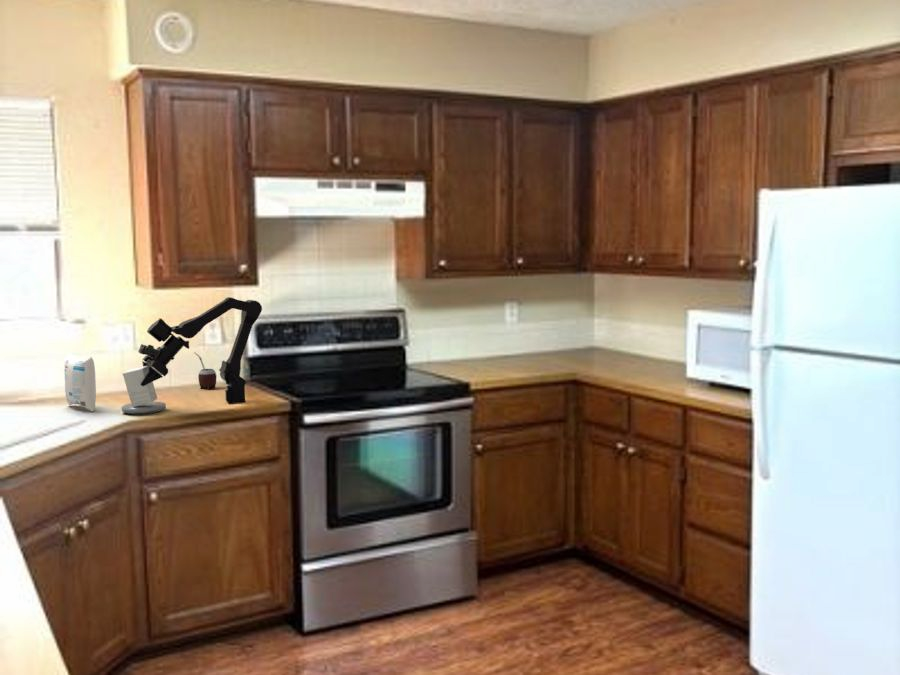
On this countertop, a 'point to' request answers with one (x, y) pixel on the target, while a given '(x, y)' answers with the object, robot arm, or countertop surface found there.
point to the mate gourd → (206, 377)
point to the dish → (144, 408)
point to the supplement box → (139, 386)
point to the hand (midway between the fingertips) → (139, 383)
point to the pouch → (80, 381)
